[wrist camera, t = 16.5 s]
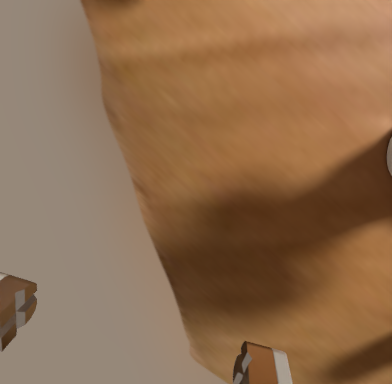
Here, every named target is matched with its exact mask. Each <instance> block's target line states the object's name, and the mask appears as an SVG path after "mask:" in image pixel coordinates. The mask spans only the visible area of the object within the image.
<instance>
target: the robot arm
mask: <svg viewBox="0 0 392 384" xmlns="http://www.w3.org/2000/svg"><path fill="white" fill-rule="evenodd" d="M387 165H388V169H389V172H390V174H391V176H392V137H391V139H390V142H389V145H388V150H387ZM36 291H37V284H36V283H34V282H31V281H28V280H24V279H21V278H18V277H15V276H12V275H8V274H5V273H1V272H0V351H3V350H4V349H5V348H6V346H7V345H8V344H9V343H10V342H11V341H12V339H13V338H14V337H15V336H16V332H17V328H19V327H21V326H23V325H25V324H26V323H27V322H28V321H29V319H30V318H31V316H32V315H33V313H34V311H35V308H36V304H37V299H36V297H35V296H34V294H33V293H35V292H36ZM233 384H293V383H292V378H291V374H290V369H289V364H288V359H287V355H286V353H285V352H284V351H280V350H276V349H273V348H270V347H266V346H262V345H259V344H255V343H251V342H247V341H245V342H244V343H243V344H242V347H241V354H239V355H238V356H237V358H236V361H235V364H234V369H233Z"/></svg>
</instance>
